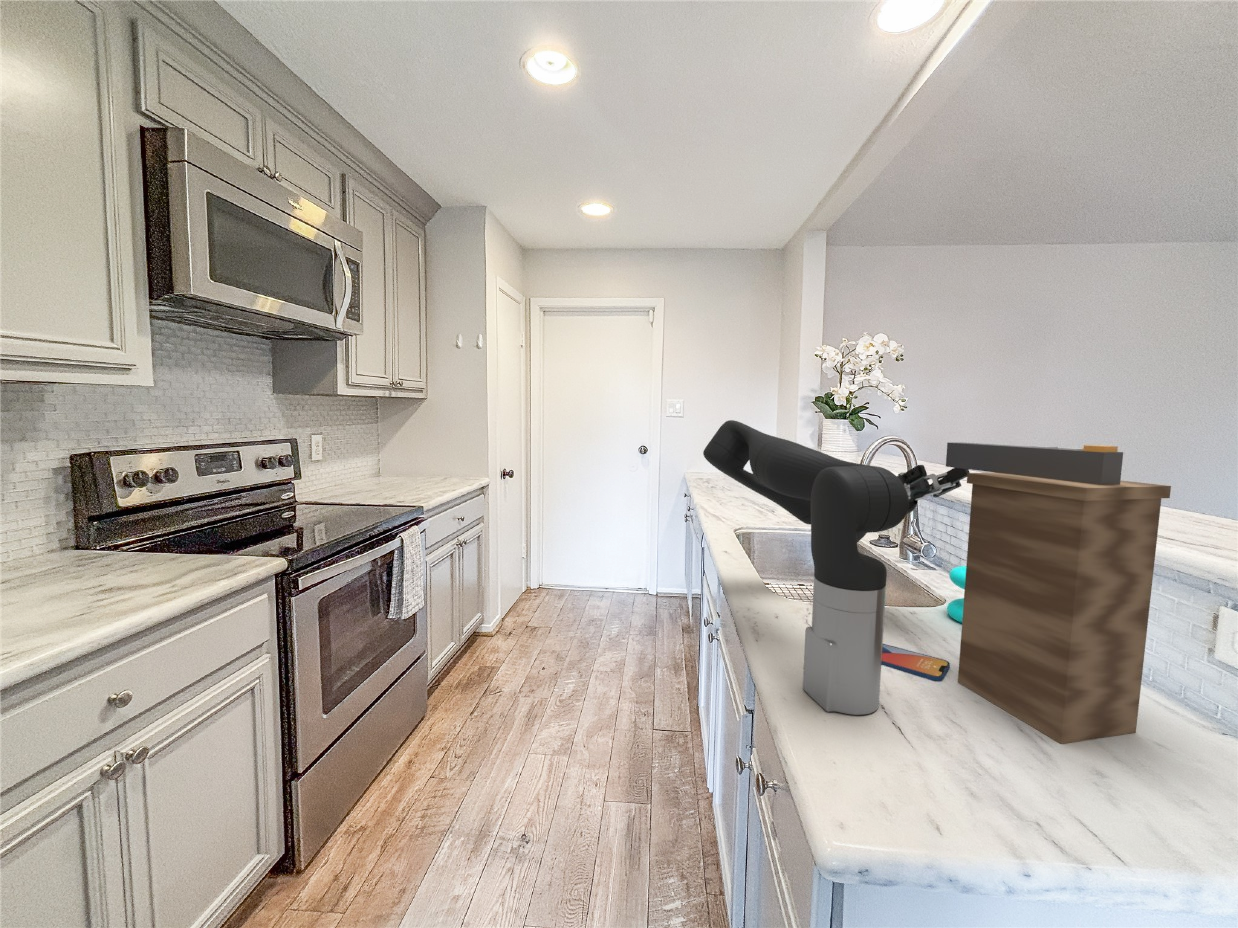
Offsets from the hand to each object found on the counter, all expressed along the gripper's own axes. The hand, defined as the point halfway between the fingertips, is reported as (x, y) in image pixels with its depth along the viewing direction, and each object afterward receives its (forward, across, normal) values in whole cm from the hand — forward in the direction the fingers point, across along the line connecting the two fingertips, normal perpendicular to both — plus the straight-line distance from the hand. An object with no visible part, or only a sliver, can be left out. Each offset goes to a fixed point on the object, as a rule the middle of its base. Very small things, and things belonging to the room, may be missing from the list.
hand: (945, 469), depth 87 cm
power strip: (+12, 0, +6) cm, 13 cm away
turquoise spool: (-23, +18, +23) cm, 37 cm away
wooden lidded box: (0, 0, +36) cm, 36 cm away
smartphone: (-14, -10, +29) cm, 34 cm away
